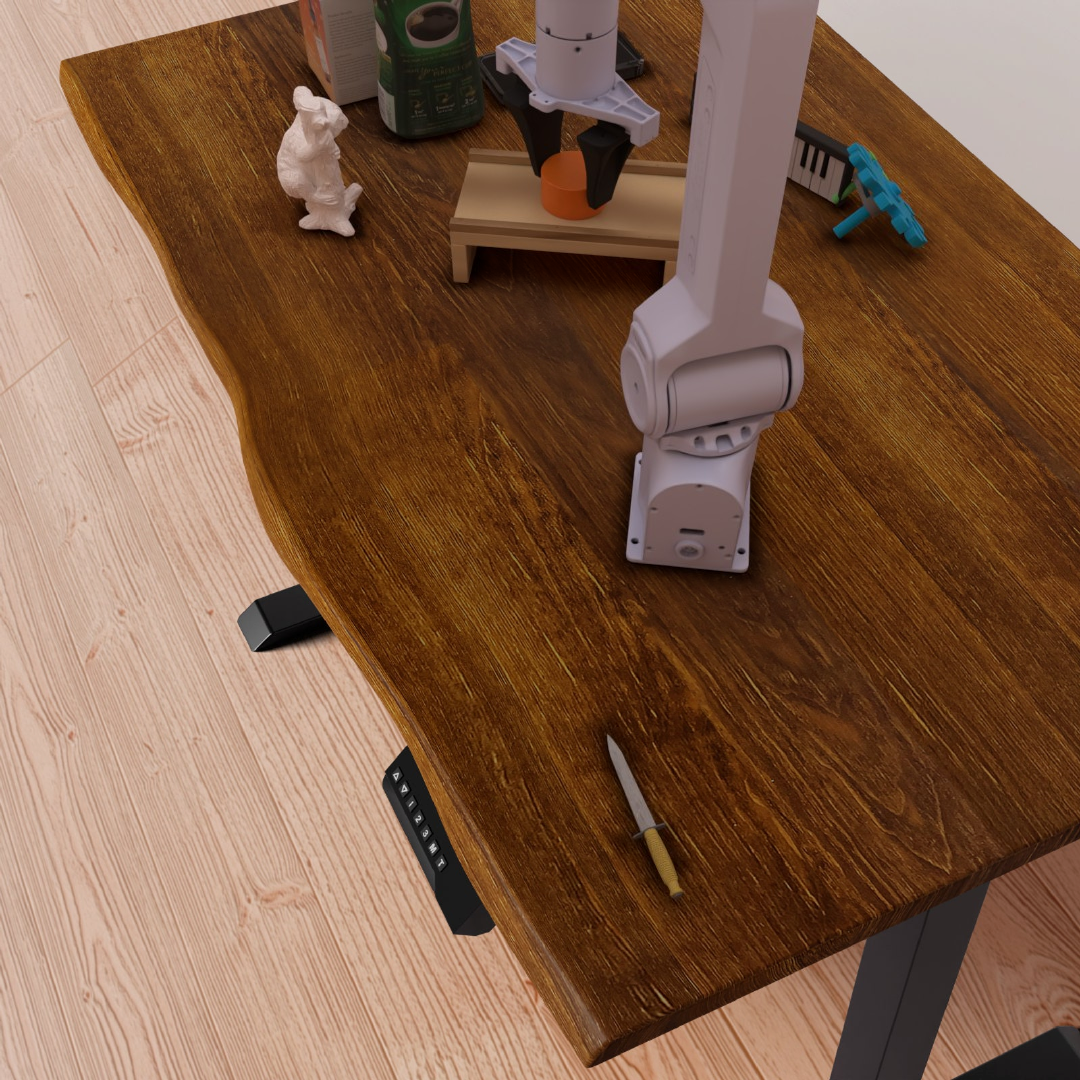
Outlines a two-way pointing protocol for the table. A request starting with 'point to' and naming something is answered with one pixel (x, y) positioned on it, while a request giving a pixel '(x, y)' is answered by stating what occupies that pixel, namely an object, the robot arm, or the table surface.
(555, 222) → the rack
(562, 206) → the disc
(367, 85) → the small box
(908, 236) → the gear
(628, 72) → the phone
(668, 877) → the dagger
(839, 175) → the midi keyboard
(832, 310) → the table surface
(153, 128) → the table surface
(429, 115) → the coffee jar
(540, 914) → the table surface
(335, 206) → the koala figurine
